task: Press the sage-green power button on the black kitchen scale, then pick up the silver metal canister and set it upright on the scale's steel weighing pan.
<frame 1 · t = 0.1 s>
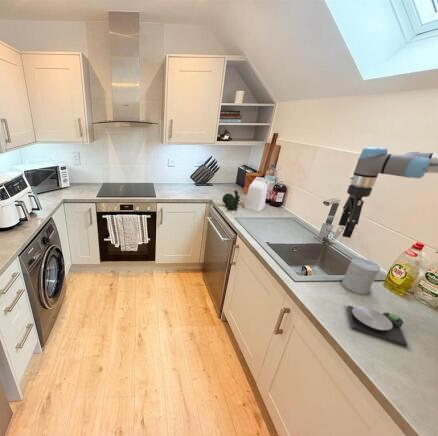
hand: (344, 230, 107), 23 cm above the worktop, tool pointing down, fingers open, 13 cm apart
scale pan: (368, 324, 87), resting on scale
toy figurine: (229, 208, 196), on the worktop
tare button: (393, 317, 86), point 3 cm above the worktop, slide at 0.1 cm
milk: (254, 208, 198), on the worktop
silver metal canister: (354, 287, 106), on the worktop
scale: (373, 325, 87), on the worktop
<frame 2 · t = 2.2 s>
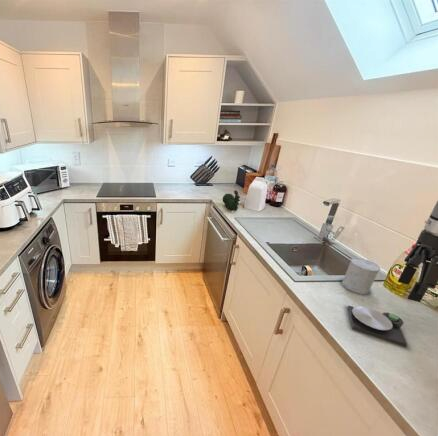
hand: (407, 291, 81), 16 cm above the worktop, tool pointing down, fingers open, 9 cm apart
nothing on the worktop moved.
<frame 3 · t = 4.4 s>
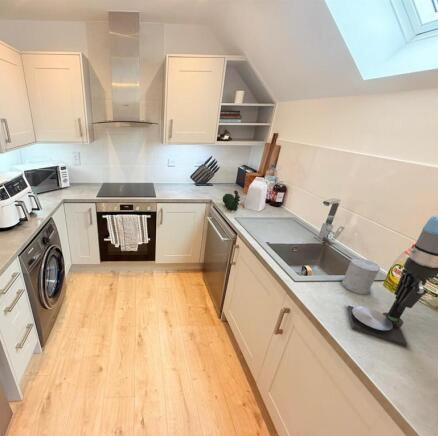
hand: (393, 316, 86), 4 cm above the worktop, tool pointing down, fingers closed
tare button: (392, 318, 86), point 3 cm above the worktop, slide at -0.2 cm, touching gripper
everything else where it was.
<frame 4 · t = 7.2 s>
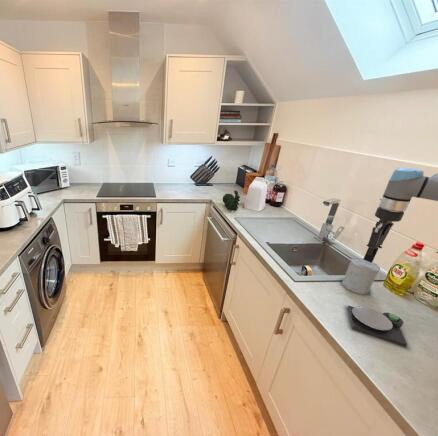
hand: (367, 260, 100), 15 cm above the worktop, tool pointing down, fingers closed
tare button: (393, 317, 86), point 3 cm above the worktop, slide at 0.1 cm
everything else where it was.
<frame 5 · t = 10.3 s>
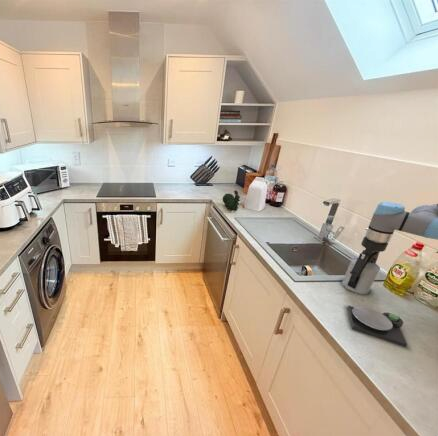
hand: (356, 283, 105), 2 cm above the worktop, tool pointing down, fingers closed on silver metal canister, 9 cm apart
silver metal canister: (354, 287, 106), on the worktop, touching gripper
everything else where it was.
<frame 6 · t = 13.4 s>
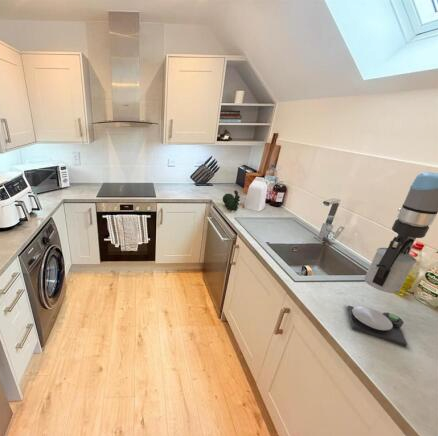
hand: (383, 279, 83), 18 cm above the worktop, tool pointing down, fingers closed on silver metal canister, 9 cm apart
silver metal canister: (381, 284, 84), point 15 cm above the worktop, touching gripper
everything else where it was.
when the fingers open (5 cm above the worktop, at t = 17.0 s): silver metal canister stays where it is, resting on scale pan.
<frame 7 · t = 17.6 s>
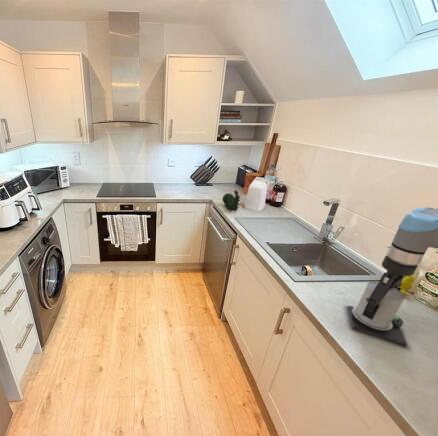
hand: (375, 309, 84), 7 cm above the worktop, tool pointing down, fingers open, 13 cm apart
silver metal canister: (371, 317, 86), point 3 cm above the worktop, touching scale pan
everything else where it was.
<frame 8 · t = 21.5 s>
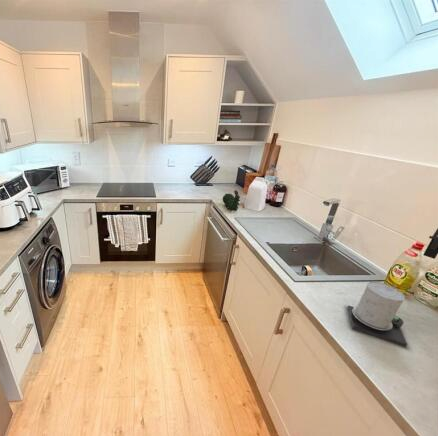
hand: (435, 251, 84), 27 cm above the worktop, tool pointing down, fingers open, 13 cm apart
nothing on the worktop moved.
at the end: tare button pushed in 0.8 cm at the most during the clip, back to where it started at the end; silver metal canister 0.0 cm off-centre on the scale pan, point 3.2 cm above the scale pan's base; silver metal canister tilted 0° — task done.
